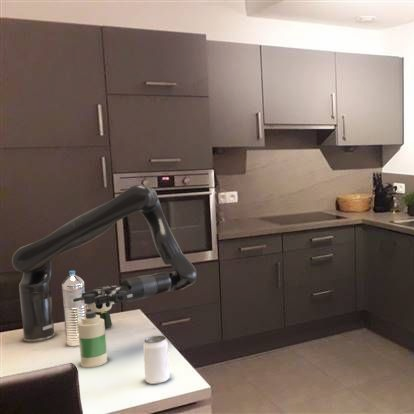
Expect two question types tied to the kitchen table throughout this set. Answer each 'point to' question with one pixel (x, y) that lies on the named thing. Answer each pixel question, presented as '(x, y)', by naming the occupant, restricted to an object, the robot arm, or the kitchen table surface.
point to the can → (156, 359)
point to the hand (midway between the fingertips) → (88, 299)
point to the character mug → (102, 311)
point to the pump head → (87, 299)
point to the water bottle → (73, 307)
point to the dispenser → (92, 340)
